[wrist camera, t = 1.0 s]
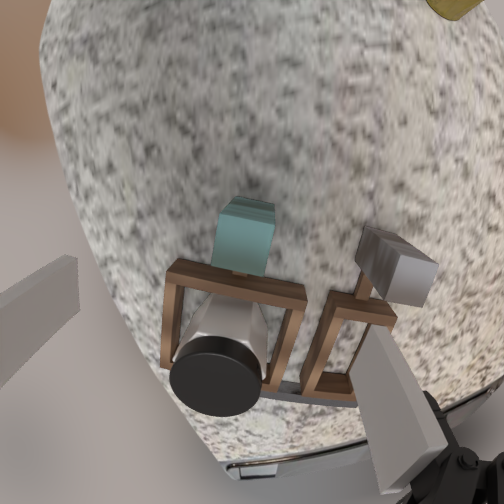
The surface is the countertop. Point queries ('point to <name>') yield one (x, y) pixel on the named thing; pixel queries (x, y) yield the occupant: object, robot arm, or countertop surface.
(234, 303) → the jar
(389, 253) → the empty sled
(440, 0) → the vase
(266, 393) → the end bar
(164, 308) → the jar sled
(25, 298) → the robot arm
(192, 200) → the countertop surface
